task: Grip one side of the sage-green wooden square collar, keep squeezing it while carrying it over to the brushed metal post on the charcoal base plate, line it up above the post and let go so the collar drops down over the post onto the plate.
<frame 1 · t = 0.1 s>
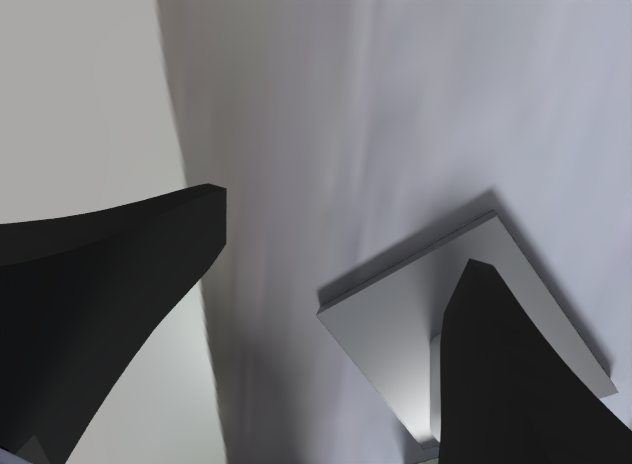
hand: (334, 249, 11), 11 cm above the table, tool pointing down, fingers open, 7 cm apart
post stand: (453, 340, 23), on the table
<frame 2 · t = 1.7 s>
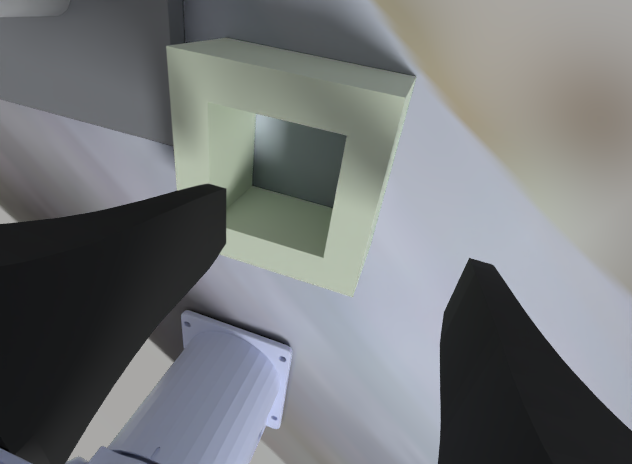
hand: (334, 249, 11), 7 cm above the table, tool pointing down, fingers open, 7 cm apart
collar: (304, 150, 17), on the table
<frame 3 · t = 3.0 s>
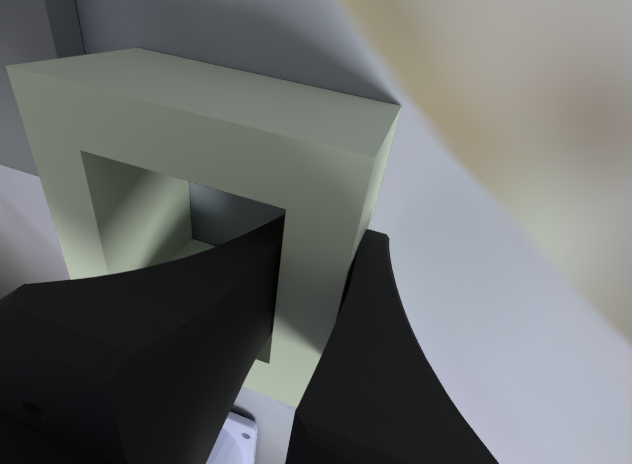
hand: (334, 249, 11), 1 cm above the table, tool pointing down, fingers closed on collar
collar: (253, 199, 13), on the table, touching gripper
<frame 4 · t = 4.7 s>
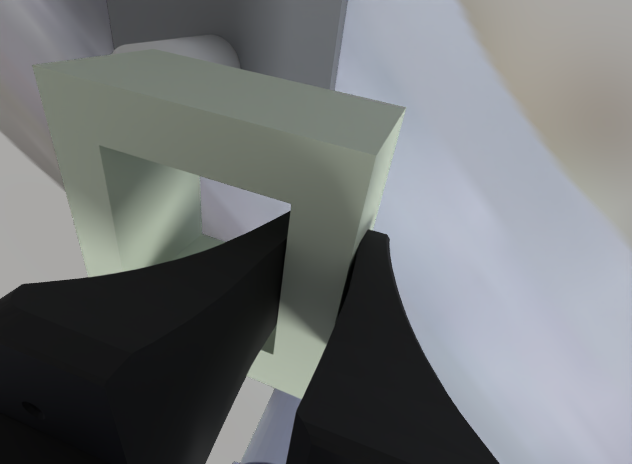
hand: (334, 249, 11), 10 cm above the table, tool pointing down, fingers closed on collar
collar: (262, 196, 13), point 8 cm above the table, touching gripper
post stand: (225, 63, 19), on the table
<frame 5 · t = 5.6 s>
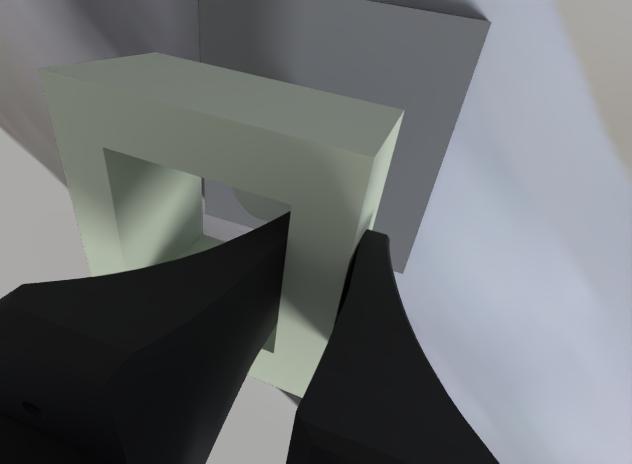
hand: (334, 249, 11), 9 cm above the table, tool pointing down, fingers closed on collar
collar: (262, 197, 13), point 7 cm above the table, touching gripper
post stand: (319, 135, 19), on the table
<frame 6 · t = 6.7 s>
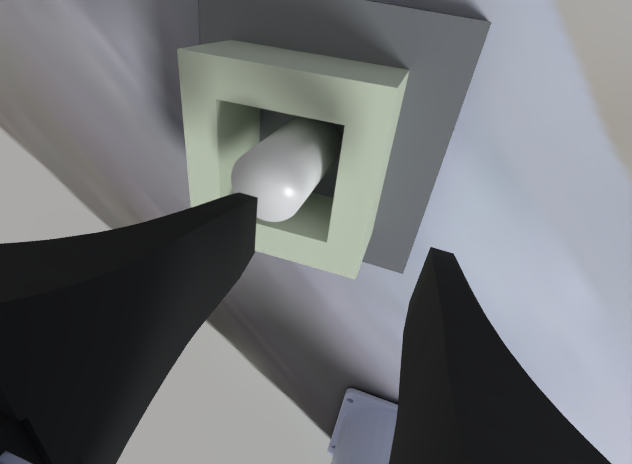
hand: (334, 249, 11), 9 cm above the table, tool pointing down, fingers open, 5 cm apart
collar: (307, 144, 18), point 1 cm above the table, touching post stand
post stand: (319, 135, 19), on the table
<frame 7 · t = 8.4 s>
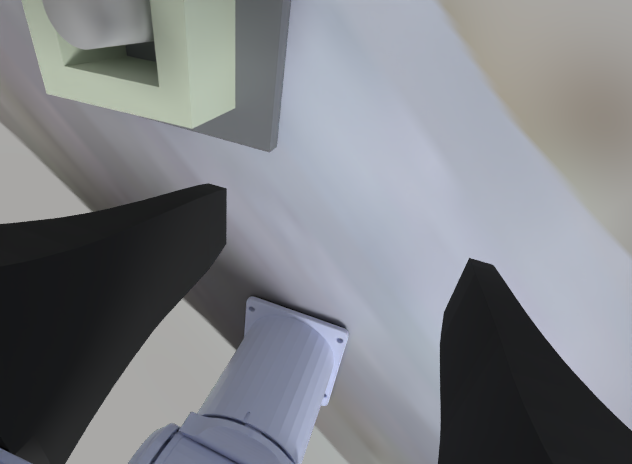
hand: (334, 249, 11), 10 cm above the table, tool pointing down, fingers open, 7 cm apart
collar: (161, 9, 18), point 1 cm above the table, touching post stand
post stand: (178, 6, 19), on the table
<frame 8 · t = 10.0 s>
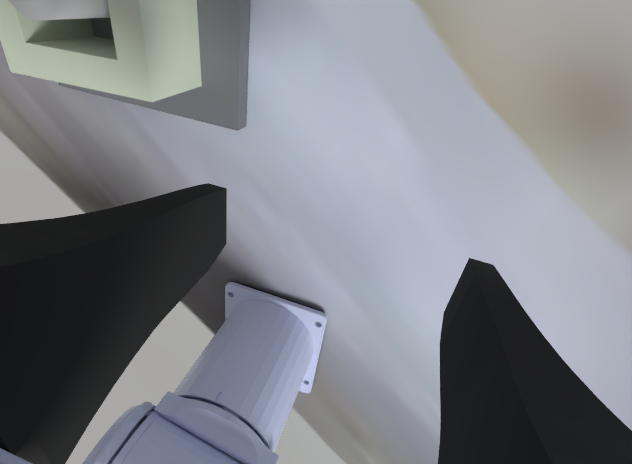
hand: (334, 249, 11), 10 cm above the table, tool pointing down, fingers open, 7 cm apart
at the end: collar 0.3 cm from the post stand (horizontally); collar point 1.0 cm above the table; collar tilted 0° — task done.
